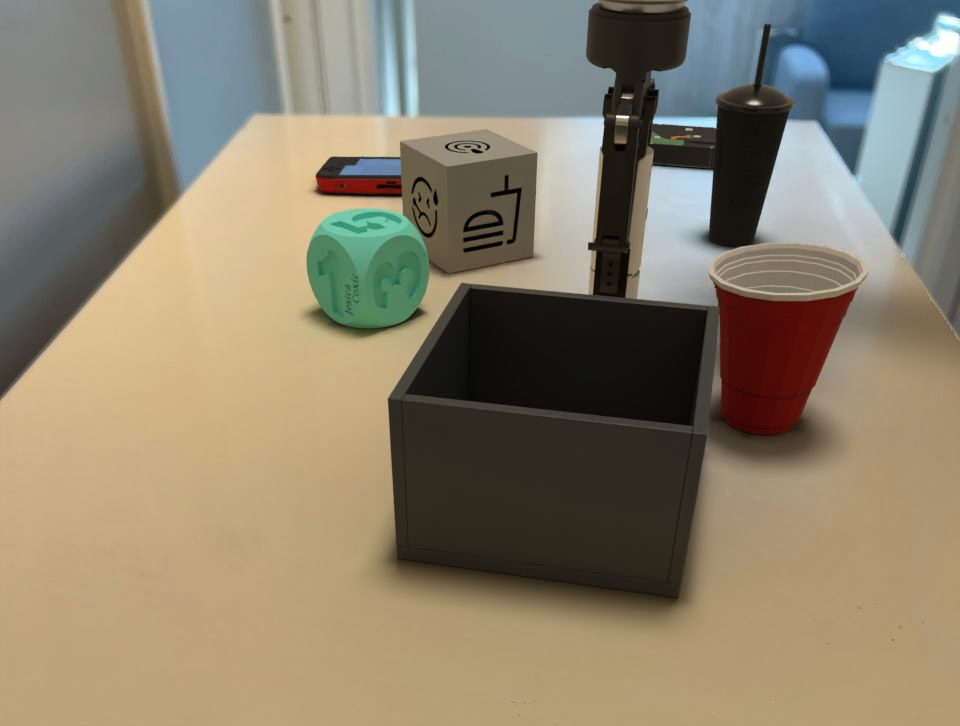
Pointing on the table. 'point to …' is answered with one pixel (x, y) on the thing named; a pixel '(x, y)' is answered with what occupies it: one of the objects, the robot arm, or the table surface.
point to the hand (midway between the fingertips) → (611, 309)
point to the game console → (360, 175)
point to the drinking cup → (745, 154)
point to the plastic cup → (778, 327)
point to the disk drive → (683, 145)
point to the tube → (636, 223)
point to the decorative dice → (368, 267)
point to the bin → (555, 436)
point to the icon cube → (470, 198)
